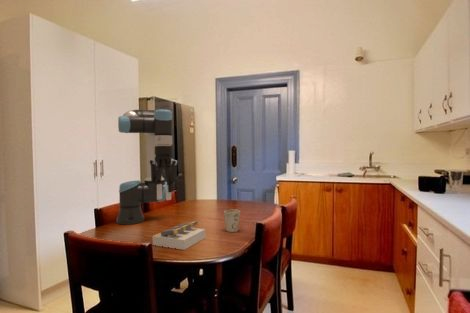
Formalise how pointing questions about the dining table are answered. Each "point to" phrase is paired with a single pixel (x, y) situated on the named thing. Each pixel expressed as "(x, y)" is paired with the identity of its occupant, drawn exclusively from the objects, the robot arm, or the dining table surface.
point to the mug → (232, 219)
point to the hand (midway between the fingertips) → (164, 199)
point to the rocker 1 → (172, 231)
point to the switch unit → (180, 238)
